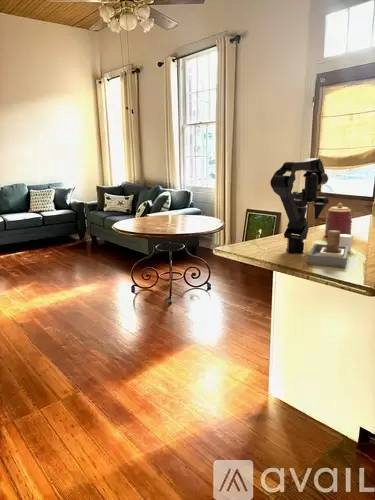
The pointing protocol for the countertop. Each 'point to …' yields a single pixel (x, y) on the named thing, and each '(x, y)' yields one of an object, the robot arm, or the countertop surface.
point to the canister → (339, 220)
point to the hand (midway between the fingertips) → (309, 220)
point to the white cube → (346, 240)
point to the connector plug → (333, 241)
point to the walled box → (328, 256)
